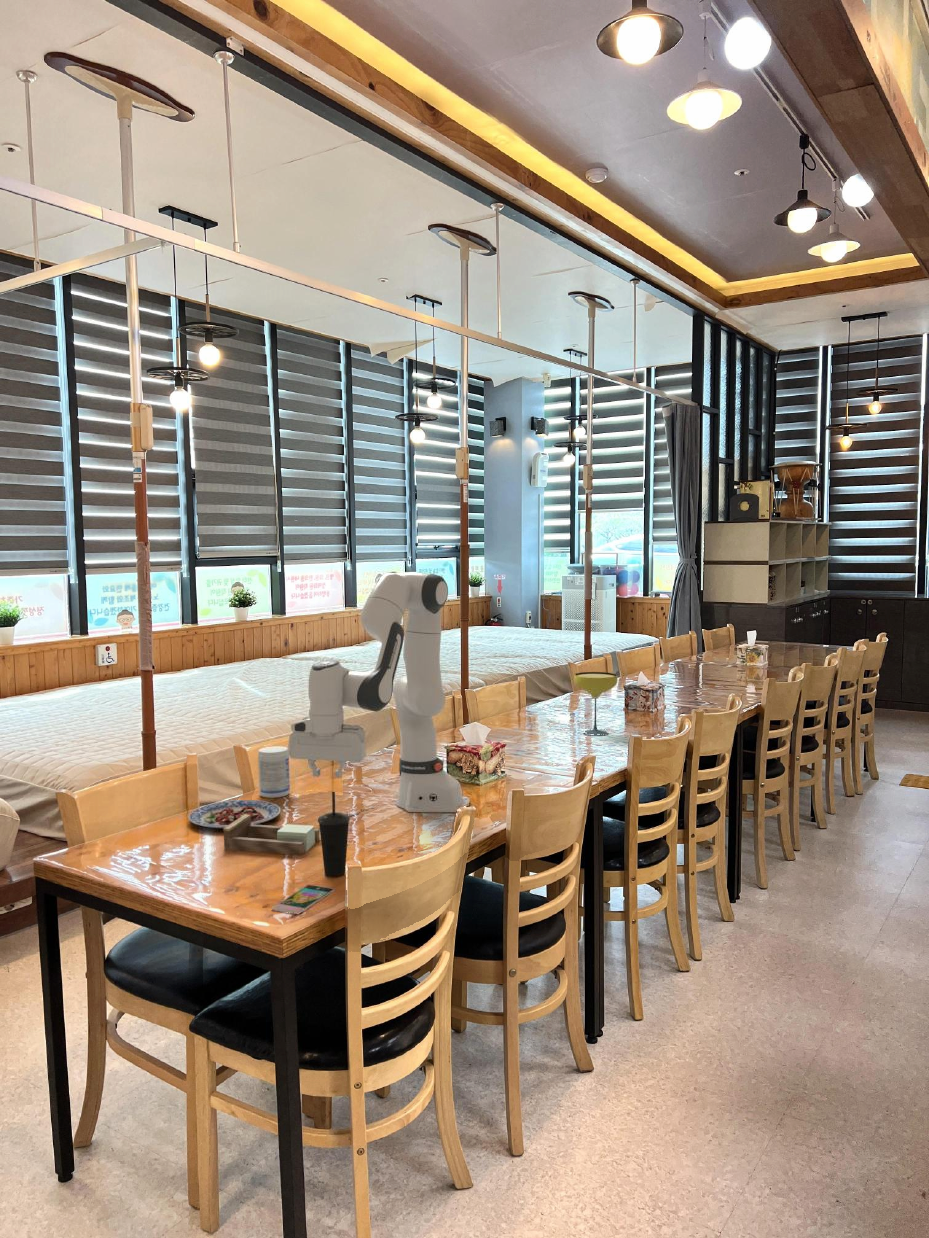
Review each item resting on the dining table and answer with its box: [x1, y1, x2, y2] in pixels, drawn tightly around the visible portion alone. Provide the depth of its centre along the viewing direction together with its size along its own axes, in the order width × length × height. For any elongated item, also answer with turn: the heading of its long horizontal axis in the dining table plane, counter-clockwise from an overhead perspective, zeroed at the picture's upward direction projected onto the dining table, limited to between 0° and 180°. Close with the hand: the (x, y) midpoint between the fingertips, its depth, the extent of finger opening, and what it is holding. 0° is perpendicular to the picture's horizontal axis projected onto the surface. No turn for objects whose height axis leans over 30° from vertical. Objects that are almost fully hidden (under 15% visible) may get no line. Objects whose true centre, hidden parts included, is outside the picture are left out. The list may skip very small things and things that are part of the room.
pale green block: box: [276, 824, 316, 852], centre depth 226 cm, size 8×7×5 cm
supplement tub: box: [257, 745, 291, 799], centre depth 275 cm, size 10×10×15 cm
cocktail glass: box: [573, 671, 618, 735], centre depth 364 cm, size 18×18×25 cm
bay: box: [222, 814, 321, 856], centre depth 228 cm, size 22×12×6 cm, turn 77°
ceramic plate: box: [188, 799, 282, 829], centre depth 250 cm, size 26×26×3 cm
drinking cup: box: [317, 791, 351, 878], centre depth 206 cm, size 8×8×20 cm
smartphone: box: [271, 884, 335, 915], centre depth 192 cm, size 7×1×15 cm
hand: (327, 776), depth 223 cm, fingers open, 5 cm apart
